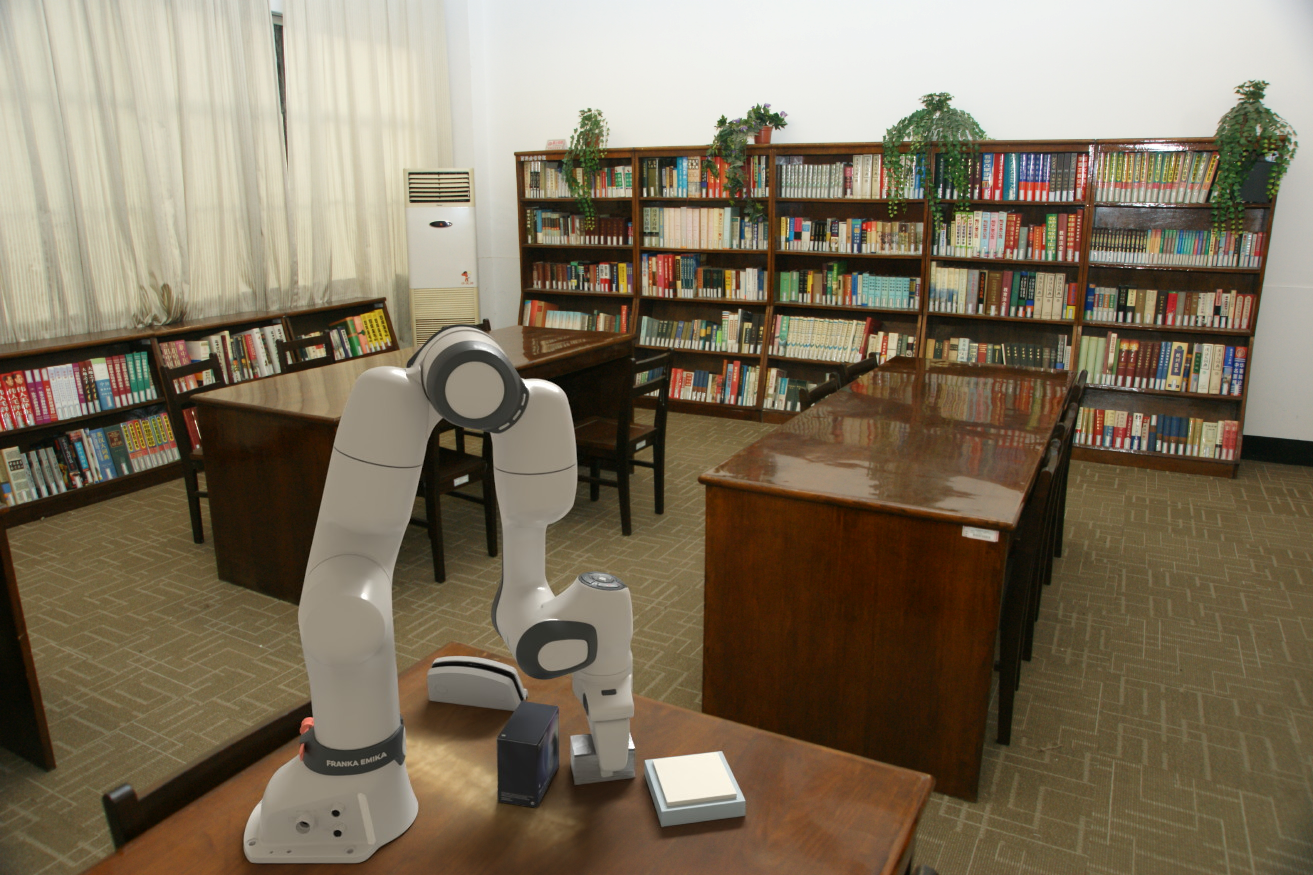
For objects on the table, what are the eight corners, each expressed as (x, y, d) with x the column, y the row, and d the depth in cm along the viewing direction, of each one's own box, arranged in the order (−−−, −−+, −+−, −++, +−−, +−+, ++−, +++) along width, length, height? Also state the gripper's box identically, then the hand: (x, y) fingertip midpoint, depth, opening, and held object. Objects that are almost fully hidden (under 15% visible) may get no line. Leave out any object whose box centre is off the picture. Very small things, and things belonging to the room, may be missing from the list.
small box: (539, 809, 128) (538, 744, 125) (496, 803, 129) (493, 738, 126) (562, 765, 138) (561, 704, 135) (521, 759, 139) (519, 698, 136)
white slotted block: (530, 696, 157) (522, 656, 151) (522, 718, 153) (513, 678, 147) (440, 685, 160) (429, 645, 154) (429, 706, 156) (418, 666, 150)
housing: (574, 784, 133) (574, 754, 132) (570, 764, 138) (570, 735, 137) (634, 777, 135) (635, 748, 134) (628, 757, 140) (628, 729, 138)
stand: (661, 826, 124) (661, 807, 124) (644, 773, 136) (644, 756, 135) (745, 815, 127) (745, 796, 126) (721, 764, 138) (722, 747, 137)
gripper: (572, 646, 142) (573, 724, 145) (590, 718, 122) (591, 806, 126) (612, 643, 143) (612, 720, 146) (636, 713, 124) (635, 800, 127)
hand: (602, 760), depth 136 cm, fingers closed on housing, 5 cm apart
